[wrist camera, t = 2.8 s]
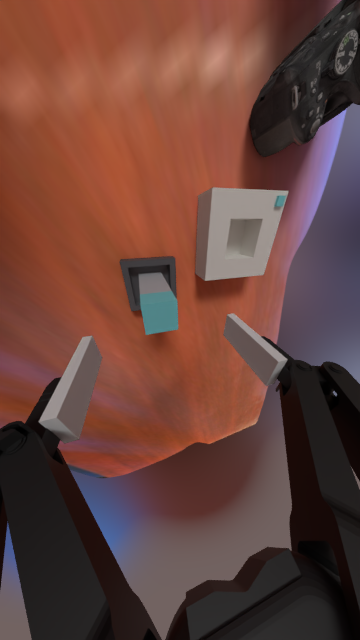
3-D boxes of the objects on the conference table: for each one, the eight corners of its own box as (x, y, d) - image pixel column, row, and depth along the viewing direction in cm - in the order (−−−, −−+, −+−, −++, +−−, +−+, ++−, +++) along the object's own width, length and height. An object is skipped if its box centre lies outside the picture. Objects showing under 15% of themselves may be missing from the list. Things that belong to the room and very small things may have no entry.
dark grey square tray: (131, 306, 29) (131, 311, 27) (120, 259, 24) (119, 261, 22) (174, 301, 31) (176, 305, 29) (172, 256, 26) (175, 257, 24)
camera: (274, 183, 24) (346, 159, 16) (236, 127, 19) (310, 53, 11) (346, 71, 19) (501, -45, 11) (319, -38, 15) (552, -375, 6)
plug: (142, 294, 28) (146, 334, 17) (138, 273, 25) (140, 305, 15) (162, 292, 28) (178, 329, 18) (160, 271, 26) (177, 300, 16)
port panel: (195, 273, 29) (205, 281, 24) (198, 195, 22) (213, 186, 18) (246, 268, 31) (265, 275, 27) (263, 197, 24) (291, 190, 20)
